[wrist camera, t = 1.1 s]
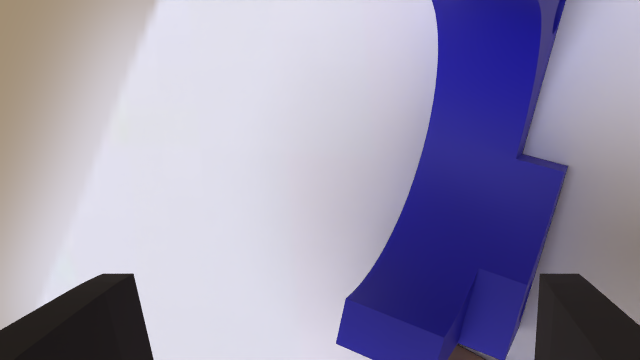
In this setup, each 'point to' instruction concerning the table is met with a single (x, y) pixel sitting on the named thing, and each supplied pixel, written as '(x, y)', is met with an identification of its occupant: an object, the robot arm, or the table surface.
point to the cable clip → (467, 195)
